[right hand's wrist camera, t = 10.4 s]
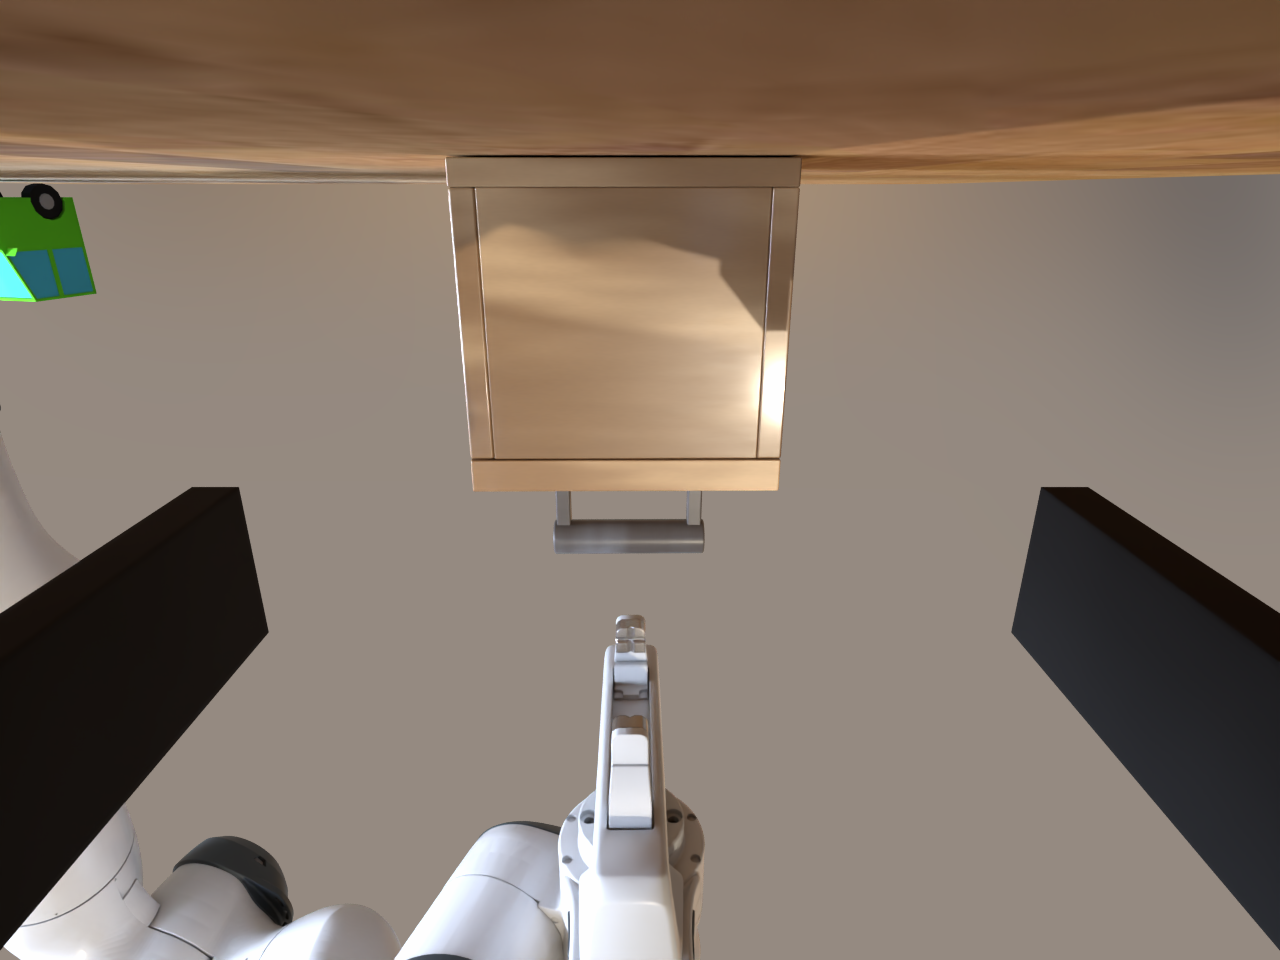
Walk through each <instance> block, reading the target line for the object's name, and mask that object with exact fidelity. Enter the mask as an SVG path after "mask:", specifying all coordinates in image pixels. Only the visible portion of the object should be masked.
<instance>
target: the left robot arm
mask: <svg viewBox="0 0 1280 960" xmlns="http://www.w3.org/2000/svg"><path fill="white" fill-rule="evenodd" d="M0 410H1V406H0ZM79 561H80V560H79V559H77V558H76V557H74V556H73V555H71V554H70V553H69V552H68V551H66V550H65V549H64V548H63V547H62V546H61V545H59V544H58V543H57V542H56V541H55V540H54V539H53V538H52V537H51V536H50V535H49V534H48V532H47V531H46V530H45V529H44V527H43V526H42V525H41V523H40V522H39V521H38V519H37V518H36V516H35V514H34V513H33V511H32V509H31V507H30V505H29V503H28V501H27V499H26V496H25V494H24V492H23V490H22V488H21V485H20V483H19V481H18V478H17V476H16V473H15V471H14V469H13V466H12V464H11V461H10V458H9V455H8V453H7V450H6V447H5V445H4V442H3V439H2V435H1V432H0V613H2V612H3V611H5V610H6V609H8V608H9V607H11V606H12V605H14V604H15V603H17V602H18V601H20V600H21V599H23V598H24V597H26V596H27V595H29V594H30V593H32V592H33V591H35V590H36V589H38V588H40V587H41V586H43V585H44V584H46V583H47V582H49V581H50V580H52V579H53V578H55V577H56V576H58V575H59V574H61V573H62V572H64V571H65V570H67V569H68V568H70V567H71V566H73V565H74V564H76V563H77V562H79ZM704 847H705V842H704V835H703V831H702V828H701V825H700V823H699V821H698V819H697V817H696V816H695V814H694V813H693V812H692V811H691V809H690V808H689V807H688V806H687V805H685V804H684V803H683V802H682V801H681V800H679V799H678V798H676V797H675V796H674V795H673V794H672V793H671V792H670V791H668V790H667V789H666V788H665V778H664V759H663V741H662V722H661V703H660V684H659V666H658V655H657V651H656V648H655V647H654V646H652V645H646V639H645V619H644V617H642V616H641V615H621V616H619V617H618V618H617V620H616V645H611V646H609V647H608V648H607V649H606V653H605V660H604V674H603V689H602V706H601V722H600V737H599V753H598V770H597V786H596V790H595V791H594V792H592V793H591V794H590V795H589V796H588V797H587V798H586V799H585V800H583V801H582V802H581V803H579V804H578V805H577V806H576V807H575V808H574V809H573V810H572V811H571V813H570V814H569V815H568V817H567V818H566V820H565V822H564V824H563V826H562V827H558V826H554V825H549V824H544V823H538V822H530V821H515V822H507V823H503V824H499V825H496V826H493V827H491V828H490V829H488V830H486V831H485V832H484V833H483V834H482V835H481V836H480V837H479V839H478V840H477V842H476V843H475V844H474V845H473V847H472V848H471V849H470V851H469V852H468V854H467V855H466V856H465V858H464V859H463V861H462V862H461V863H460V865H459V866H458V868H457V869H456V870H455V872H454V873H453V875H452V876H451V878H450V879H449V881H448V882H447V883H446V885H445V886H444V888H443V890H442V891H441V893H440V894H439V896H438V897H437V898H436V900H435V901H434V903H433V904H432V906H431V907H430V909H429V910H428V911H427V913H426V914H425V916H424V917H423V919H422V920H421V921H420V923H419V924H418V926H417V927H416V929H415V930H414V932H413V933H412V934H411V936H410V937H409V939H408V940H407V942H406V943H405V945H404V946H403V947H402V948H401V945H400V943H399V940H398V938H397V936H396V934H395V932H394V930H393V929H392V927H391V926H390V925H389V923H388V922H387V921H386V920H385V919H384V918H383V917H382V916H381V915H379V914H378V913H377V912H375V911H374V910H372V909H370V908H368V907H366V906H362V905H358V904H338V905H333V906H329V907H325V908H322V909H319V910H317V911H314V912H312V913H310V914H308V915H306V916H303V917H301V918H299V919H297V920H295V921H293V922H292V919H293V908H292V905H291V903H290V901H289V899H288V889H287V885H286V881H285V878H284V875H283V873H282V870H281V868H280V866H279V864H278V863H277V861H276V860H275V859H274V858H273V857H272V856H271V855H270V854H269V853H268V852H267V851H265V850H264V849H263V848H261V847H260V846H258V845H256V844H255V843H253V842H251V841H248V840H246V839H242V838H239V837H234V836H222V837H213V838H208V839H206V840H205V841H203V842H202V843H200V844H199V845H198V846H196V847H195V848H194V849H193V850H191V851H190V852H189V853H188V854H187V855H186V856H185V857H183V858H182V859H181V860H180V861H179V862H178V863H177V864H176V865H175V867H174V869H173V873H172V874H171V875H170V876H169V877H168V878H167V879H166V880H165V881H164V882H163V883H162V884H161V885H160V886H159V887H158V888H157V890H156V891H155V892H154V893H153V894H152V895H151V896H150V895H149V894H148V893H147V892H146V890H145V889H144V888H143V872H142V861H141V853H140V848H139V844H138V840H137V835H136V832H135V829H134V826H133V823H132V820H131V817H130V815H129V812H128V809H127V806H126V804H125V803H124V804H123V805H122V807H121V808H120V809H119V810H118V811H117V813H116V814H115V815H114V816H113V817H112V819H111V820H110V821H109V822H108V823H107V824H106V826H105V827H104V828H103V829H102V830H101V832H100V833H99V834H98V835H97V836H96V837H95V839H94V840H93V841H92V842H91V843H90V845H89V846H88V847H87V848H86V849H85V850H84V852H83V853H82V854H81V855H80V856H79V858H78V859H77V860H76V861H75V862H74V864H73V865H72V866H71V867H70V868H69V869H68V871H67V872H66V873H65V874H64V875H63V877H62V878H61V879H60V880H59V881H58V882H57V884H56V885H55V886H54V887H53V888H52V890H51V891H50V892H49V893H48V894H47V896H46V897H45V898H44V899H43V900H42V901H41V903H40V904H39V905H38V906H37V907H36V909H35V910H34V911H33V912H32V913H31V914H30V916H29V917H28V918H27V919H26V920H25V922H24V923H23V924H22V925H21V926H20V928H19V929H18V930H17V931H16V932H15V933H14V935H13V936H12V937H11V938H10V939H9V941H8V942H7V943H6V944H5V945H4V947H5V948H6V949H7V950H9V951H10V952H11V953H12V954H14V955H15V956H17V957H18V958H19V959H21V960H700V939H699V934H698V930H697V926H698V923H699V920H700V916H701V910H702V897H703V871H704Z"/></svg>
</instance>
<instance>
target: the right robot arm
mask: <svg viewBox="0 0 1280 960" xmlns="http://www.w3.org/2000/svg"><path fill="white" fill-rule="evenodd" d="M267 634H268V627H267V622H266V617H265V612H264V607H263V603H262V598H261V593H260V588H259V583H258V578H257V573H256V568H255V564H254V559H253V554H252V549H251V544H250V539H249V534H248V530H247V525H246V520H245V515H244V510H243V505H242V500H241V496H240V491H239V487H191V488H190V489H188V490H187V491H185V492H184V493H182V494H181V495H179V496H178V497H176V498H175V499H173V500H172V501H170V502H169V503H167V504H166V505H164V506H163V507H161V508H160V509H158V510H157V511H155V512H153V513H152V514H151V515H149V516H147V517H146V518H144V519H143V520H141V521H140V522H138V523H137V524H135V525H134V526H132V527H131V528H129V529H128V530H126V531H125V532H123V533H122V534H120V535H119V536H117V537H115V538H114V539H112V540H111V541H109V542H108V543H106V544H105V545H103V546H102V547H100V548H99V549H97V550H96V551H94V552H93V553H91V554H90V555H88V556H87V557H85V558H84V559H82V560H81V561H79V562H77V563H76V564H74V565H73V566H71V567H70V568H68V569H67V570H65V571H64V572H62V573H61V574H59V575H58V576H56V577H55V578H53V579H52V580H50V581H49V582H47V583H46V584H44V585H43V586H41V587H40V588H38V589H36V590H35V591H33V592H32V593H30V594H29V595H27V596H26V597H24V598H23V599H21V600H20V601H18V602H17V603H15V604H14V605H12V606H11V607H9V608H8V609H6V610H5V611H3V612H2V613H0V950H1V949H2V948H3V946H4V945H5V944H6V943H7V942H8V941H9V939H10V938H11V937H12V936H13V935H14V933H15V932H16V931H17V930H18V929H19V928H20V926H21V925H22V924H23V923H24V922H25V920H26V919H27V918H28V917H29V916H30V914H31V913H32V912H33V911H34V910H35V909H36V907H37V906H38V905H39V904H40V903H41V901H42V900H43V899H44V898H45V897H46V896H47V894H48V893H49V892H50V891H51V890H52V888H53V887H54V886H55V885H56V884H57V882H58V881H59V880H60V879H61V878H62V877H63V875H64V874H65V873H66V872H67V871H68V869H69V868H70V867H71V866H72V865H73V864H74V862H75V861H76V860H77V859H78V858H79V856H80V855H81V854H82V853H83V852H84V850H85V849H86V848H87V847H88V846H89V845H90V843H91V842H92V841H93V840H94V839H95V837H96V836H97V835H98V834H99V833H100V832H101V830H102V829H103V828H104V827H105V826H106V824H107V823H108V822H109V821H110V820H111V819H112V817H113V816H114V815H115V814H116V813H117V811H118V810H119V809H120V808H121V807H122V805H123V804H124V803H125V802H126V801H127V800H128V798H129V797H130V796H131V795H132V794H133V792H134V791H135V790H136V789H137V788H138V787H139V785H140V784H141V783H142V782H143V781H144V779H145V778H146V777H147V776H148V775H149V773H150V772H151V771H152V770H153V769H154V768H155V766H156V765H157V764H158V763H159V762H160V760H161V759H162V758H163V757H164V756H165V755H166V753H167V752H168V751H169V750H170V749H171V747H172V746H173V745H174V744H175V743H176V741H177V740H178V739H179V738H180V737H181V736H182V734H183V733H184V732H185V731H186V730H187V728H188V727H189V726H190V725H191V724H192V723H193V721H194V720H195V719H196V718H197V717H198V715H199V714H200V713H201V712H202V711H203V710H204V708H205V707H206V706H207V705H208V704H209V702H210V701H211V700H212V699H213V698H214V696H215V695H216V694H217V693H218V692H219V690H220V689H221V688H222V687H223V686H224V685H225V683H226V682H227V681H228V680H229V679H230V677H231V676H232V675H233V674H234V673H235V672H236V670H237V669H238V668H239V667H240V666H241V664H242V663H243V662H244V661H245V660H246V659H247V657H248V656H249V655H250V654H251V653H252V651H253V650H254V649H255V648H256V647H257V646H258V644H259V643H260V642H261V641H262V640H263V638H264V637H265V636H266V635H267ZM1012 634H1013V635H1014V636H1015V637H1016V638H1017V640H1018V641H1019V642H1020V643H1021V644H1022V645H1023V647H1024V648H1025V649H1026V650H1027V651H1028V653H1029V654H1030V655H1031V656H1032V657H1033V659H1034V660H1035V661H1036V662H1037V663H1038V664H1039V666H1040V667H1041V668H1042V669H1043V670H1044V672H1045V673H1046V674H1047V675H1048V676H1049V678H1050V679H1051V680H1052V681H1053V682H1054V683H1055V685H1056V686H1057V687H1058V688H1059V689H1060V691H1061V692H1062V693H1063V694H1064V695H1065V696H1066V698H1067V699H1068V700H1069V701H1070V702H1071V704H1072V705H1073V706H1074V707H1075V708H1076V710H1077V711H1078V712H1079V713H1080V714H1081V715H1082V717H1083V718H1084V719H1085V720H1086V721H1087V723H1088V724H1089V725H1090V726H1091V727H1092V728H1093V730H1094V731H1095V732H1096V733H1097V734H1098V736H1099V737H1100V738H1101V739H1102V740H1103V741H1104V743H1105V744H1106V745H1107V746H1108V747H1109V749H1110V750H1111V751H1112V752H1113V753H1114V755H1115V756H1116V757H1117V758H1118V759H1119V760H1120V762H1121V763H1122V764H1123V765H1124V766H1125V768H1126V769H1127V770H1128V771H1129V772H1130V773H1131V775H1132V776H1133V777H1134V778H1135V779H1136V781H1137V782H1138V783H1139V784H1140V785H1141V786H1142V788H1143V789H1144V790H1145V791H1146V792H1147V794H1148V795H1149V796H1150V797H1151V798H1152V800H1153V801H1154V802H1155V803H1156V804H1157V805H1158V807H1159V808H1160V809H1161V810H1162V811H1163V813H1164V814H1165V815H1166V816H1167V817H1168V818H1169V820H1170V821H1171V822H1172V823H1173V824H1174V826H1175V827H1176V828H1177V829H1178V830H1179V832H1180V833H1181V834H1182V835H1183V836H1184V837H1185V839H1186V840H1187V841H1188V842H1189V843H1190V845H1191V846H1192V847H1193V848H1194V849H1195V850H1196V852H1197V853H1198V854H1199V855H1200V856H1201V858H1202V859H1203V860H1204V861H1205V862H1206V863H1207V865H1208V866H1209V867H1210V868H1211V869H1212V871H1213V872H1214V873H1215V874H1216V875H1217V876H1218V878H1219V879H1220V880H1221V881H1222V882H1223V884H1224V885H1225V886H1226V887H1227V888H1228V890H1229V891H1230V892H1231V893H1232V894H1233V896H1234V897H1235V898H1236V899H1237V900H1238V901H1239V903H1240V904H1241V905H1242V906H1243V907H1244V909H1245V910H1246V911H1247V912H1248V913H1249V914H1250V916H1251V917H1252V918H1253V919H1254V920H1255V922H1256V923H1257V924H1258V925H1259V926H1260V928H1261V929H1262V930H1263V931H1264V932H1265V933H1266V935H1267V936H1268V937H1269V938H1270V939H1271V940H1272V942H1273V943H1274V944H1275V945H1276V946H1277V948H1278V949H1279V950H1280V613H1278V612H1277V611H1275V610H1274V609H1272V608H1271V607H1269V606H1268V605H1266V604H1265V603H1263V602H1262V601H1260V600H1259V599H1257V598H1256V597H1254V596H1253V595H1251V594H1250V593H1248V592H1247V591H1245V590H1243V589H1242V588H1240V587H1239V586H1237V585H1236V584H1234V583H1233V582H1231V581H1230V580H1228V579H1227V578H1225V577H1224V576H1222V575H1221V574H1219V573H1218V572H1216V571H1215V570H1213V569H1212V568H1210V567H1209V566H1207V565H1206V564H1204V563H1203V562H1201V561H1199V560H1198V559H1196V558H1195V557H1193V556H1192V555H1190V554H1189V553H1187V552H1186V551H1184V550H1183V549H1181V548H1180V547H1178V546H1177V545H1175V544H1174V543H1172V542H1171V541H1169V540H1168V539H1166V538H1165V537H1163V536H1161V535H1160V534H1158V533H1157V532H1155V531H1154V530H1152V529H1151V528H1149V527H1148V526H1146V525H1145V524H1143V523H1142V522H1140V521H1139V520H1137V519H1136V518H1134V517H1133V516H1131V515H1130V514H1128V513H1127V512H1125V511H1123V510H1122V509H1120V508H1119V507H1117V506H1116V505H1114V504H1113V503H1111V502H1110V501H1108V500H1107V499H1105V498H1104V497H1102V496H1101V495H1099V494H1098V493H1096V492H1095V491H1093V490H1092V489H1090V488H1088V487H1041V491H1040V495H1039V500H1038V505H1037V510H1036V515H1035V520H1034V525H1033V530H1032V535H1031V539H1030V544H1029V549H1028V554H1027V559H1026V564H1025V569H1024V573H1023V578H1022V583H1021V588H1020V593H1019V598H1018V602H1017V607H1016V612H1015V617H1014V622H1013V627H1012Z"/></svg>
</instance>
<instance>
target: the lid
mask: <svg viewBox="0 0 1280 960" xmlns="http://www.w3.org/2000/svg"><path fill="white" fill-rule="evenodd" d="M471 470H472V482H473V490H474V491H556V513H557V520H555V523H554V535H553V540H554V551H555V553H558V554H563V553H564V554H565V553H703V551H704V522H703V520H702V519H701V507H702V491H777V490H778V488H779V474H780V459H779V458H757V457H756V458H614V459H495V457H494V458H473V459H472V460H471ZM571 491H687V510H686V519H578V520H577V519H572V512H571Z"/></svg>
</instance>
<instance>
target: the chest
mask: <svg viewBox="0 0 1280 960" xmlns="http://www.w3.org/2000/svg"><path fill="white" fill-rule="evenodd" d="M801 165H802V158H800V157H446V158H445V167H446V179H447V186H448V187H450V188H449V189H448V198H449V210H450V222H451V233H452V245H453V257H454V268H455V280H456V292H457V303H458V315H459V327H460V338H461V350H462V361H463V373H464V385H465V397H466V408H467V419H468V431H469V443H470V455H471V457H472V458H494V457H495V459H614V458H756V457H757V458H780V456H781V444H782V431H783V417H784V403H785V389H786V374H787V361H788V346H789V333H790V319H791V305H792V290H793V276H794V262H795V248H796V234H797V220H798V206H799V192H800V189H799V188H798V187H799V186H800V179H801Z"/></svg>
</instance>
